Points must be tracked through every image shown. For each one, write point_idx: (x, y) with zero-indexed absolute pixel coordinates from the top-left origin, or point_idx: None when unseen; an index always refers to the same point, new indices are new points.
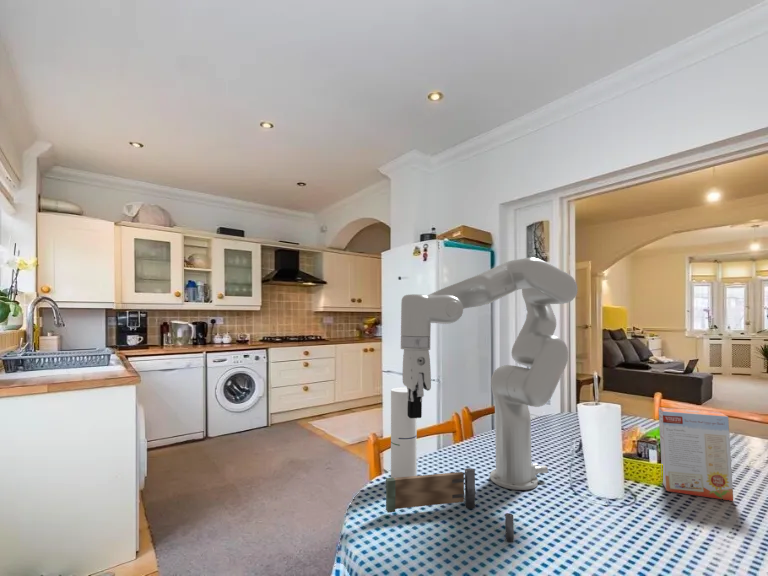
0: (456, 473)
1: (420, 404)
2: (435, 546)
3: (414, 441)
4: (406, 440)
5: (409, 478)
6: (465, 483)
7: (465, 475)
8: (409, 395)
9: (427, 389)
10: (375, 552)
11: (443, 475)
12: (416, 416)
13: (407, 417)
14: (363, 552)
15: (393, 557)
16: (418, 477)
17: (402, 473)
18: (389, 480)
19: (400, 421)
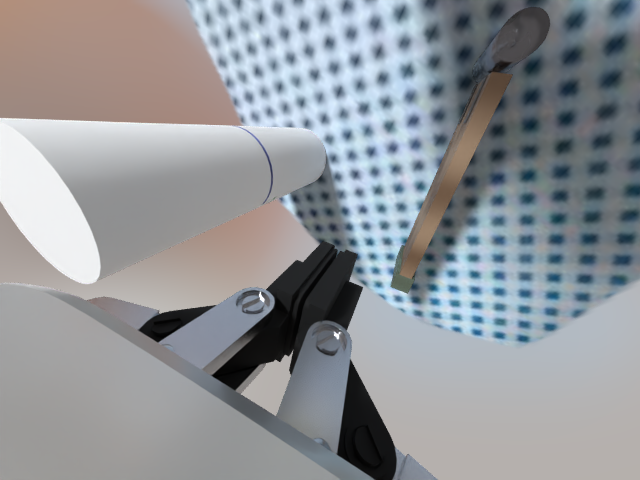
0: (488, 102)
1: (331, 303)
2: (560, 248)
3: (272, 150)
4: (275, 183)
5: (424, 250)
6: (499, 70)
7: (507, 64)
8: (249, 382)
9: (362, 476)
10: (491, 324)
11: (470, 156)
12: (348, 279)
13: (222, 197)
14: (477, 334)
15: (525, 315)
16: (433, 228)
17: (311, 178)
18: (406, 289)
19: (229, 215)
